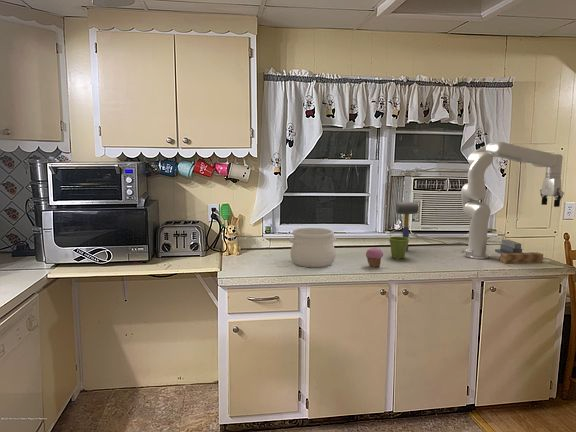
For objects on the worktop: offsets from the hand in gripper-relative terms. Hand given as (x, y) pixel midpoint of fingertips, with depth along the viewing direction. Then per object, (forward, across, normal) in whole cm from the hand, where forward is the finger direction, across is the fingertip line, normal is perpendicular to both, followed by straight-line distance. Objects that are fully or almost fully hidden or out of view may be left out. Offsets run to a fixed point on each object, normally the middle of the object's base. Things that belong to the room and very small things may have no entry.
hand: (550, 205), depth 244 cm
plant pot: (+30, -5, -88) cm, 93 cm away
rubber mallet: (+30, -22, -77) cm, 86 cm away
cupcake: (+30, +12, -108) cm, 113 cm away
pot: (+30, +1, -139) cm, 143 cm away
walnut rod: (+30, +12, -24) cm, 41 cm away
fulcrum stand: (+30, -6, -18) cm, 35 cm away
